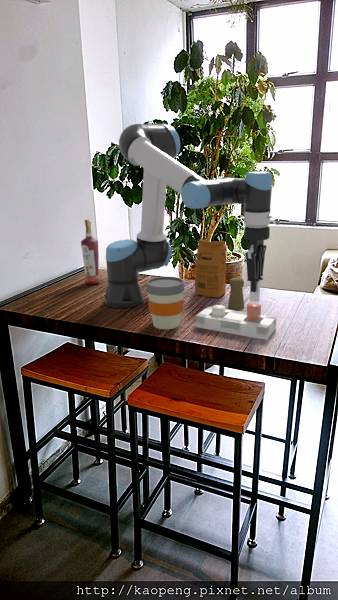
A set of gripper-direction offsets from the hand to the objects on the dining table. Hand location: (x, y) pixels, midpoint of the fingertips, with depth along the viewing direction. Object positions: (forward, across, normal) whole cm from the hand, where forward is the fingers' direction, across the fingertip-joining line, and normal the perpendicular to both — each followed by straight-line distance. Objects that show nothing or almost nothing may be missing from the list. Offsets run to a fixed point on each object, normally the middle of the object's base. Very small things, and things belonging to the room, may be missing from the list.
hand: (254, 300), depth 142 cm
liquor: (+10, +21, +81) cm, 84 cm away
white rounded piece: (+8, 0, +12) cm, 15 cm away
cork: (+11, +19, +13) cm, 25 cm away
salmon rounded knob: (+6, 0, 0) cm, 6 cm away
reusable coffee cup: (+11, -7, +28) cm, 31 cm away
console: (+10, 0, +6) cm, 12 cm away
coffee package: (+10, +29, +28) cm, 42 cm away
